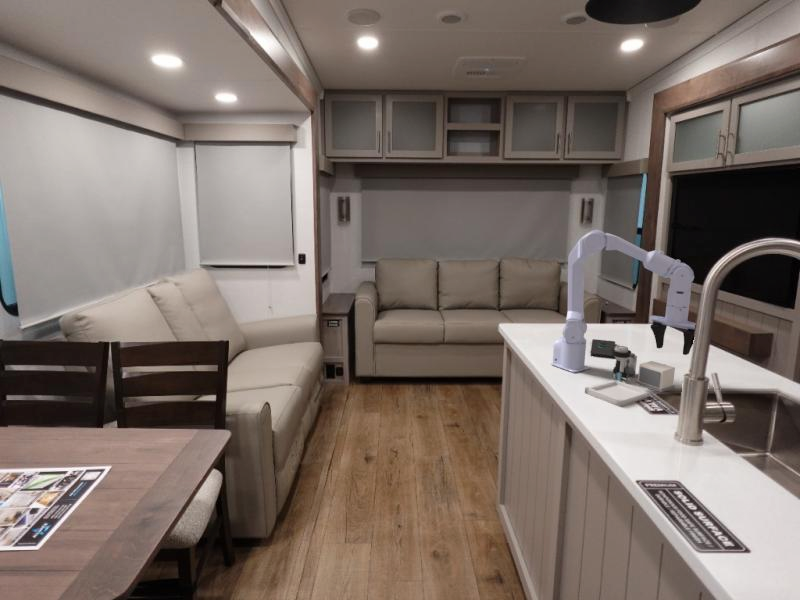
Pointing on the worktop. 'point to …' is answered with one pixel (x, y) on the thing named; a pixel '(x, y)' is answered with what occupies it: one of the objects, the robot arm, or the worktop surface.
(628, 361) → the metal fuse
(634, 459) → the worktop surface
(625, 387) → the tray
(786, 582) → the worktop surface
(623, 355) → the push button
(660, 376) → the panel
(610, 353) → the smart home device
